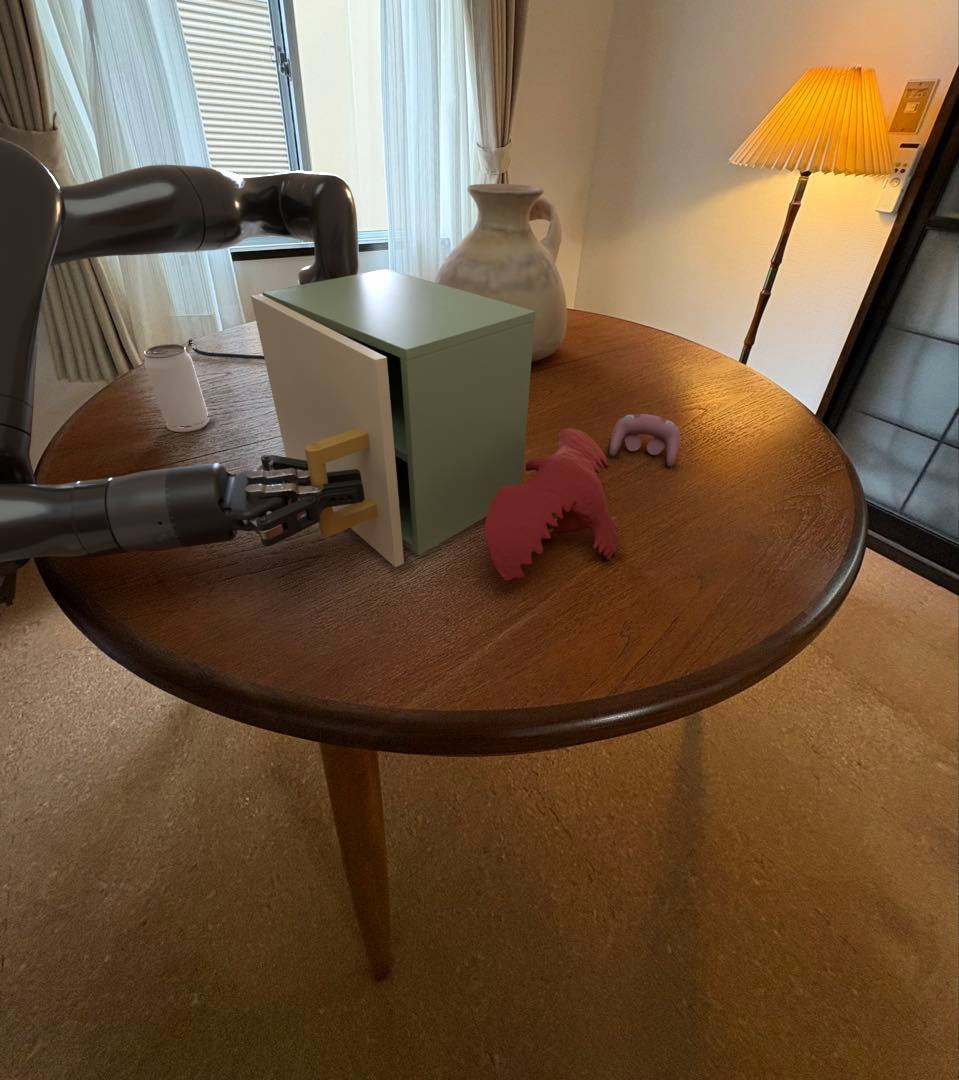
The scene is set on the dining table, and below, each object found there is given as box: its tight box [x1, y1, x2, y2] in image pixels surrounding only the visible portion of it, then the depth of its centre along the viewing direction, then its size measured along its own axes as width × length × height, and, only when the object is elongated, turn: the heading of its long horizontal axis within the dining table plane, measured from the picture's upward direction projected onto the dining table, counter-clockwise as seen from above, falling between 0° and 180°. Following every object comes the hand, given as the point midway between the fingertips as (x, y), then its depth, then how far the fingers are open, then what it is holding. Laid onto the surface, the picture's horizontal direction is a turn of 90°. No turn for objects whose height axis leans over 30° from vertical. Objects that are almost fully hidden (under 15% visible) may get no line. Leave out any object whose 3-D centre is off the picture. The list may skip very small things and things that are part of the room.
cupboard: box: [261, 268, 535, 556], centre depth 70 cm, size 18×26×24 cm
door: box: [250, 293, 405, 568], centre depth 62 cm, size 8×26×24 cm, turn 41°
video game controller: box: [608, 413, 681, 468], centre depth 84 cm, size 10×5×7 cm, turn 71°
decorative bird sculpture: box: [483, 427, 621, 581], centre depth 65 cm, size 28×9×15 cm
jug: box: [433, 183, 568, 363], centre depth 111 cm, size 29×34×30 cm
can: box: [143, 343, 210, 434], centre depth 86 cm, size 6×6×12 cm
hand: (361, 485), depth 56 cm, fingers closed
